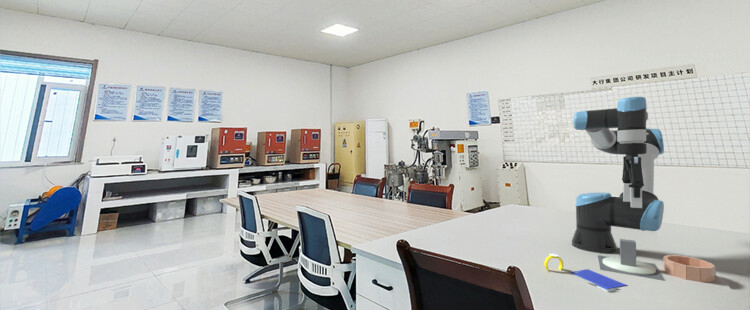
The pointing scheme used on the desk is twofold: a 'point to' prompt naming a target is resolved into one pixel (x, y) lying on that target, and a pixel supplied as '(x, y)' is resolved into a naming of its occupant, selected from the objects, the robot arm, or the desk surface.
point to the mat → (654, 276)
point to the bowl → (689, 268)
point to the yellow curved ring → (550, 258)
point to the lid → (628, 260)
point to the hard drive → (599, 280)
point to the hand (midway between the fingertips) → (632, 204)
